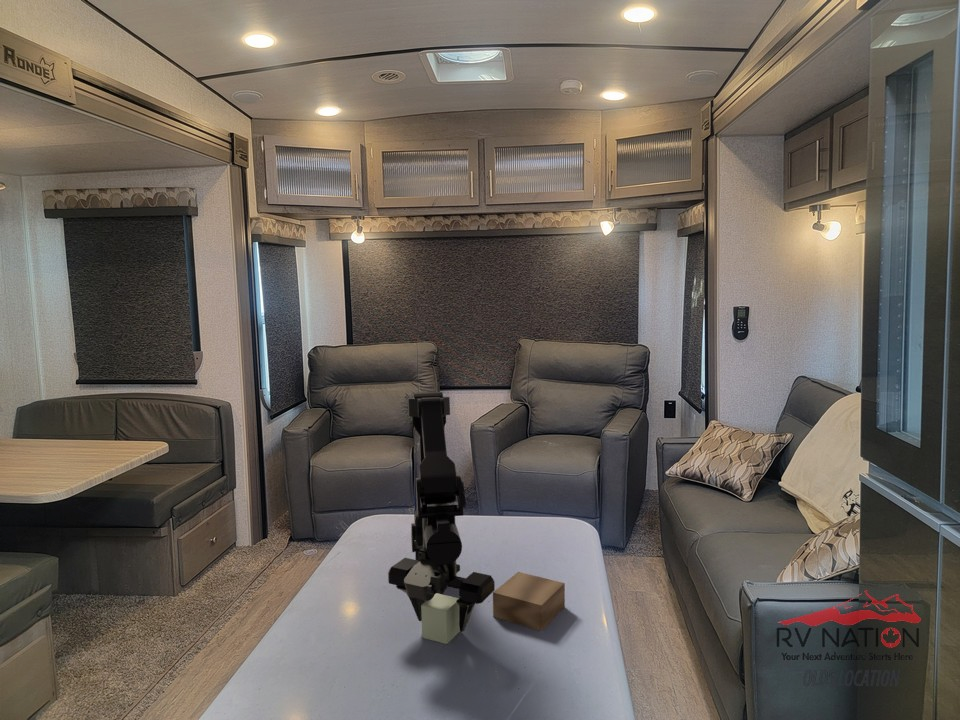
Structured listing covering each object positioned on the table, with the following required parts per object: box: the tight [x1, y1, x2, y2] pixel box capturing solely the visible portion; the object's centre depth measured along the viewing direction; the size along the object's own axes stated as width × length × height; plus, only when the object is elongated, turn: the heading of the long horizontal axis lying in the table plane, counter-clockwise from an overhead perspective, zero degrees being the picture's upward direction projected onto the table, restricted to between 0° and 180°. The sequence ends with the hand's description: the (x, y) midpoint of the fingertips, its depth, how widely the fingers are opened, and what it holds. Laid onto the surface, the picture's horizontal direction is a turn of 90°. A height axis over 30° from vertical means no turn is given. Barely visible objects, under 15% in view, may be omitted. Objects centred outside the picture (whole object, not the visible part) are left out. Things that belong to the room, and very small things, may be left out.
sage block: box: [421, 593, 461, 645], centre depth 116 cm, size 5×5×6 cm
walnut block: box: [492, 571, 566, 632], centre depth 124 cm, size 10×10×5 cm
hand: (441, 625), depth 117 cm, fingers open, 8 cm apart
